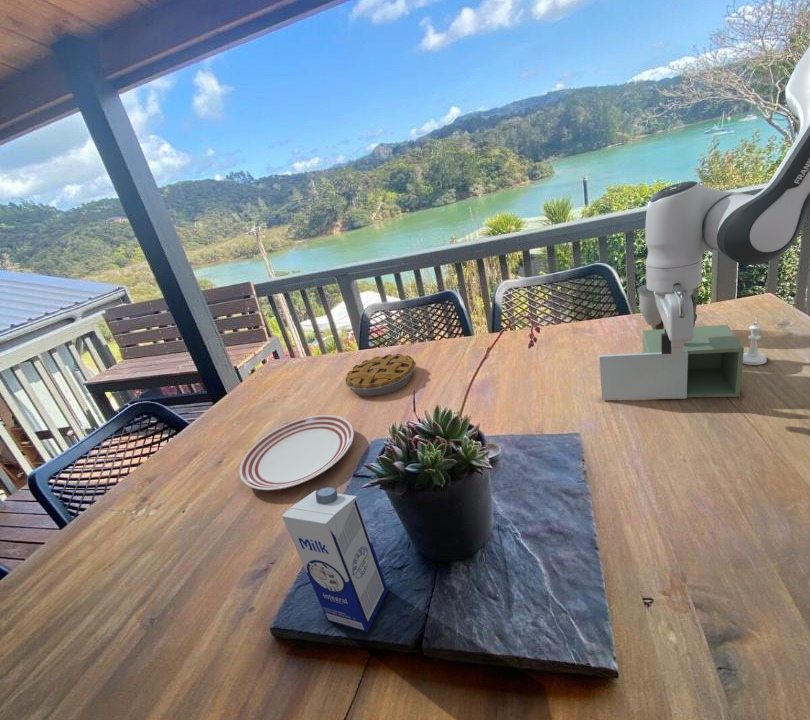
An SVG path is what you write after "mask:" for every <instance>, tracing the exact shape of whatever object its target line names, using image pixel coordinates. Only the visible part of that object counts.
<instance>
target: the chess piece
mask: <svg viewBox="0 0 810 720" xmlns="http://www.w3.org/2000/svg"><path fill="white" fill-rule="evenodd" d="M758 322H759V320H758V318H754V322H753V325H750V326H749V332H750V335H748V339H749V340H750V345H749V348H748V351H747V352H745V353H743V364H744V365H748V366H749V365H751V366H760V365H763V364H765V363H767V361H768V360H767V356H766V355H765V354H762V353H760V352H759V349H758V340H760V339H761V335H759V333H760V331H761V329H762V326H760V325H758Z"/></svg>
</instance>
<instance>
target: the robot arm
mask: <svg viewBox="0 0 810 720" xmlns="http://www.w3.org/2000/svg"><path fill="white" fill-rule="evenodd" d="M787 81H788V82H787V83H786V86H785V89H784V96H785V101H786V104H787V107H788V109H789V110H790V111H791V113H792V114H793V115H794V116H795V117H796V118H798V119H799V122H800V124H799V125H800V127H799V131H798V134H797V137H796V139H795V140H794V142H793V144H792V145H791V147H790V148H789V150H788V151H787V153H786V155H785V156H784V158H783V159H782V161H781V163H780V164H779V166H778V167H777V169H776V170H775V172H774V174H772V177H771V178H770V180H769V182H768V183H767V184H766V186H765V187H764V188H763V189H762V190H760V191H759V192H757V193H755V194H750V193H743V192H735V191H726V190H720V189H715V188H711V187H708V186H705V185H702V184H701V183H700V182H698V181H695V180H689V181H683V182H679V183H675V184H672V185H669V186H667V187H664V188H662V189H659V190H658V191H657V192H655V193H654V194H653V195H652V196H651V197H650V199H649V201H648V203H647V207H646V215H645V225H644V226H645V227H644V229H645V230H644V232H645V233H644V241H645V245H646V246H647V256H646V259H645V285H646V287H647V289H648V290H650V291H653V292H654V296H655V301H656V305H657V308H658V310H659V313H660V316H661V318H662V321H663V324H664V333H667V334H668V337H669V340H670V341H671V353H672V355H673V356H681V355H682V354H683V346H684V343H685V341H691V340H692V339H693V336H694V316H693V303H692V299H691V297H690V295H691V294H692V293H693V289H694V288H696V287H698V288H699V287H700V286H701V284H702V276H703V274H702V272H703V255H704V253H705V252H708V251H713V250H714V251H716V252H719V253H722V254H723V255H725V256H726V257H728V258H729V259H731V260H733V261H734V262H736V263H738V264H741V265H747V266H752V265H753V266H755V265H761V264H765V263H768V262H771V261H772V260H776V258H779V257H780V256H781V255H783V254H784V253H786V252H787V251H788V250H789V249H790V248H791V247H792V246H793V245H794V244H795V242H796V241H797V239H798V238H799V236H800V234H801V232H802V229H803V227H804V224H805V222H806V218H807V215H808V213H809V211H810V45H809V46H808V48H807V49H806V51H805V52H804V53H803V54H802V57H801V58H800V59H799V61H798V62H797V64H796V66H795V68H794V69H793V71H792V73H791V75H790V77H789V79H788V80H787Z"/></svg>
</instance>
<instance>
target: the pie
mask: <svg viewBox="0 0 810 720" xmlns="http://www.w3.org/2000/svg"><path fill="white" fill-rule="evenodd" d="M416 365H417V363H416V361H415V360H414V358H412V356H411V355H408V354H407V355H403V354H401V353H396V354H391V353H389V354H385V355H384V356H379V355H378V356H374V357H372V358H371V359H365V360H363V361H362V362H361V363H360V364H356V365H354V366H352V370H350V371H348V372H347V374H346V377H345V381H344V382H345V385H346V387H347V388H349V389H350V390H351V391H352V392H353V393H354V394H357V395H360V396H366V397H374V396H382V395H387V394H390V393H394V392H396V391H398V390H400V389H401V388H403V387H406V385H407V384H408V383H409V382H410V381H411V380H412V376H413V373H414V371H415V368H416Z"/></svg>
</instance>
